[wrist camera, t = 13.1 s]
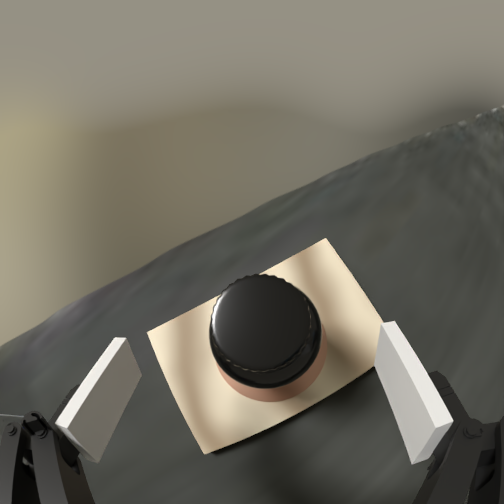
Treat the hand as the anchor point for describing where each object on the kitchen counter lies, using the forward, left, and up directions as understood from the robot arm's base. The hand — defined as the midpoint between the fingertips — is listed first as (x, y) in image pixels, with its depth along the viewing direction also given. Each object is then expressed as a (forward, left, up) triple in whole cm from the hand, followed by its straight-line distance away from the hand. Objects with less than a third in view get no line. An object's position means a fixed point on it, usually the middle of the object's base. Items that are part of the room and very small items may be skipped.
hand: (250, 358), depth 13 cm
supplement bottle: (-1, -2, -11) cm, 11 cm away
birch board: (-1, -2, -12) cm, 12 cm away
